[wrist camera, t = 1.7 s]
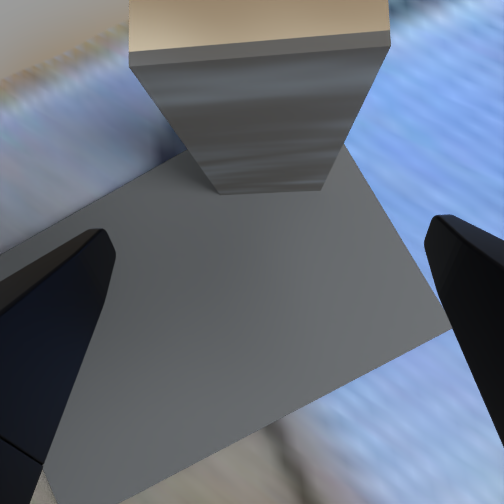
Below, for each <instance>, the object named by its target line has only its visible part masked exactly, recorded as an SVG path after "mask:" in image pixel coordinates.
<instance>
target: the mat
mask: <svg viewBox="0 0 504 504" xmlns="http://www.w3.org/2000/svg"><path fill="white" fill-rule="evenodd" d="M92 228H103V229H105V230H106V231H107V233H108V235H109V237H110V239H111V242H112V244H113V246H114V248H115V251H116V260H115V264H114V268H113V272H112V276H111V280H110V284H109V288H108V292H107V296H106V300H105V303H104V306H103V309H102V312H101V314H100V317H99V319H98V322H97V325H96V327H95V330H94V333H93V335H92V338H91V341H90V343H89V346H88V349H87V351H86V354H85V357H84V359H83V362H82V365H81V367H80V370H79V373H78V375H77V378H76V381H75V383H74V386H73V389H72V391H71V394H70V397H69V399H68V402H67V405H66V407H65V410H64V413H63V415H62V418H61V421H60V423H59V426H58V429H57V431H56V434H55V437H54V439H53V442H52V444H51V447H50V450H49V452H48V455H47V458H46V460H45V463H44V464H43V470H44V473H45V475H46V477H47V480H48V482H49V484H50V487H51V489H52V491H53V494H54V496H55V498H56V501H57V503H58V504H118V503H120V502H122V501H124V500H126V499H128V498H130V497H132V496H134V495H136V494H137V493H139V492H141V491H143V490H145V489H147V488H149V487H151V486H153V485H155V484H157V483H158V482H160V481H162V480H164V479H166V478H168V477H170V476H172V475H174V474H176V473H177V472H179V471H181V470H183V469H185V468H187V467H189V466H191V465H193V464H195V463H197V462H198V461H200V460H202V459H204V458H206V457H208V456H210V455H212V454H214V453H216V452H218V451H219V450H221V449H223V448H225V447H227V446H229V445H231V444H233V443H235V442H237V441H238V440H240V439H242V438H244V437H246V436H248V435H250V434H252V433H254V432H256V431H258V430H259V429H261V428H263V427H265V426H267V425H269V424H271V423H273V422H275V421H277V420H279V419H280V418H282V417H284V416H286V415H288V414H290V413H292V412H294V411H296V410H298V409H299V408H301V407H303V406H305V405H307V404H309V403H311V402H313V401H315V400H317V399H319V398H320V397H322V396H324V395H326V394H328V393H330V392H332V391H334V390H336V389H338V388H340V387H341V386H343V385H345V384H347V383H349V382H351V381H353V380H355V379H357V378H359V377H360V376H362V375H364V374H366V373H368V372H370V371H372V370H374V369H376V368H378V367H380V366H381V365H383V364H385V363H387V362H389V361H391V360H393V359H395V358H397V357H399V356H401V355H402V354H404V353H406V352H408V351H410V350H412V349H414V348H416V347H418V346H420V345H421V344H423V343H425V342H427V341H429V340H431V339H433V338H435V337H437V336H439V335H441V334H442V333H444V332H446V331H448V330H450V329H452V326H451V324H450V322H449V319H448V317H447V315H446V312H445V311H444V309H443V307H442V306H441V304H440V302H439V301H438V299H437V297H436V296H435V294H434V292H433V291H432V289H431V288H430V286H429V284H428V283H427V281H426V279H425V278H424V276H423V274H422V273H421V271H420V269H419V268H418V266H417V264H416V263H415V261H414V259H413V258H412V256H411V254H410V253H409V251H408V249H407V248H406V246H405V244H404V243H403V241H402V239H401V238H400V236H399V234H398V233H397V231H396V229H395V228H394V226H393V224H392V223H391V221H390V219H389V218H388V216H387V214H386V213H385V211H384V209H383V208H382V206H381V204H380V203H379V201H378V199H377V198H376V196H375V195H374V193H373V191H372V190H371V188H370V186H369V185H368V183H367V181H366V180H365V178H364V176H363V175H362V173H361V171H360V170H359V168H358V166H357V165H356V163H355V161H354V160H353V158H352V156H351V155H350V153H349V151H348V150H347V148H346V146H345V145H344V144H343V146H342V148H341V150H340V152H339V154H338V156H337V158H336V160H335V162H334V164H333V166H332V168H331V170H330V172H329V174H328V177H327V179H326V181H325V183H324V185H323V187H322V189H321V191H301V192H279V193H257V194H235V195H220V194H219V193H218V191H217V190H216V188H215V187H214V186H213V184H212V183H211V181H210V180H209V179H208V177H207V176H206V174H205V173H204V172H203V170H202V169H201V167H200V166H199V165H198V163H197V162H196V160H195V159H194V158H193V156H192V155H191V153H190V152H189V151H188V149H187V150H185V151H184V152H182V153H180V154H178V155H176V156H175V157H173V158H171V159H169V160H168V161H166V162H164V163H162V164H161V165H159V166H157V167H155V168H153V169H152V170H150V171H148V172H146V173H145V174H143V175H141V176H139V177H137V178H136V179H134V180H132V181H130V182H129V183H127V184H125V185H123V186H122V187H120V188H118V189H116V190H114V191H113V192H111V193H109V194H107V195H106V196H104V197H102V198H100V199H99V200H97V201H95V202H93V203H91V204H90V205H88V206H86V207H84V208H83V209H81V210H79V211H77V212H75V213H74V214H72V215H70V216H68V217H67V218H65V219H63V220H61V221H60V222H58V223H56V224H54V225H52V226H51V227H49V228H47V229H45V230H44V231H42V232H40V233H38V234H37V235H35V236H33V237H31V238H29V239H28V240H26V241H24V242H22V243H21V244H19V245H17V246H15V247H14V248H12V249H10V250H8V251H6V252H5V253H3V254H1V255H0V281H1V280H3V279H5V278H6V277H8V276H10V275H12V274H13V273H15V272H17V271H18V270H20V269H22V268H23V267H25V266H27V265H28V264H30V263H32V262H33V261H35V260H37V259H39V258H40V257H42V256H44V255H45V254H47V253H49V252H50V251H52V250H54V249H55V248H57V247H59V246H61V245H62V244H64V243H66V242H67V241H69V240H71V239H72V238H74V237H76V236H77V235H79V234H81V233H83V232H84V231H86V230H88V229H92Z"/></svg>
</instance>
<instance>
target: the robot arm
mask: <svg viewBox="0 0 504 504" xmlns="http://www.w3.org/2000/svg"><path fill="white" fill-rule="evenodd" d="M424 248H425V252H426V255H427V259H428V262H429V265H430V269H431V272H432V276H433V279H434V283H435V286H436V290H437V293H438V296H439V298H440V301H441V303H442V306H443V308H444V310H445V312H446V315H447V317H448V319H449V322H450V324H451V326H452V329H453V331H454V333H455V336H456V338H457V340H458V343H459V345H460V347H461V349H462V352H463V354H464V356H465V359H466V361H467V363H468V366H469V368H470V370H471V373H472V375H473V377H474V380H475V382H476V384H477V387H478V389H479V391H480V393H481V396H482V398H483V400H484V403H485V405H486V407H487V410H488V412H489V414H490V417H491V419H492V421H493V424H494V426H495V428H496V430H497V433H498V435H499V437H500V440H501V442H502V444H503V447H504V240H502V239H500V238H498V237H496V236H494V235H492V234H490V233H488V232H486V231H484V230H482V229H480V228H478V227H476V226H474V225H472V224H470V223H468V222H466V221H464V220H462V219H460V218H458V217H456V216H454V215H450V214H448V215H436V216H434V217H433V218H432V220H431V223H430V226H429V229H428V231H427V234H426V237H425V241H424ZM115 260H116V251H115V248H114V246H113V244H112V242H111V239H110V237H109V235H108V233H107V231H106V230H105V229H103V228H92V229H88V230H86V231H84V232H83V233H81V234H79V235H77V236H76V237H74V238H72V239H71V240H69V241H67V242H66V243H64V244H62V245H61V246H59V247H57V248H55V249H54V250H52V251H50V252H49V253H47V254H45V255H44V256H42V257H40V258H39V259H37V260H35V261H33V262H32V263H30V264H28V265H27V266H25V267H23V268H22V269H20V270H18V271H17V272H15V273H13V274H12V275H10V276H8V277H6V278H5V279H3V280H1V281H0V504H30V501H31V498H32V496H33V493H34V490H35V488H36V485H37V482H38V480H39V477H40V474H41V472H42V469H43V464H44V463H45V460H46V458H47V455H48V452H49V450H50V447H51V444H52V442H53V439H54V437H55V434H56V431H57V429H58V426H59V423H60V421H61V418H62V415H63V413H64V410H65V407H66V405H67V402H68V399H69V397H70V394H71V391H72V389H73V386H74V383H75V381H76V378H77V375H78V373H79V370H80V367H81V365H82V362H83V359H84V357H85V354H86V351H87V349H88V346H89V343H90V341H91V338H92V335H93V333H94V330H95V327H96V325H97V322H98V319H99V317H100V314H101V312H102V309H103V306H104V303H105V300H106V296H107V292H108V288H109V284H110V280H111V276H112V272H113V268H114V264H115Z"/></svg>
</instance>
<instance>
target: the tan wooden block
mask: <svg viewBox="0 0 504 504" xmlns="http://www.w3.org/2000/svg"><path fill="white" fill-rule="evenodd" d="M390 47H391V40H390V24H389V8H388V0H129V68H130V69H131V71H132V72H133V73H134V75H135V76H136V78H137V79H138V80H139V82H140V83H141V85H142V86H143V87H144V89H145V90H146V92H147V93H148V94H149V96H150V97H151V99H152V100H153V101H154V103H155V104H156V106H157V107H158V108H159V110H160V111H161V113H162V114H163V115H164V117H165V118H166V120H167V121H168V122H169V124H170V125H171V127H172V128H173V129H174V131H175V132H176V134H177V135H178V136H179V138H180V139H181V141H182V142H183V143H184V145H185V146H186V148H187V149H188V151H189V152H190V153H191V155H192V156H193V158H194V159H195V160H196V162H197V163H198V165H199V166H200V167H201V169H202V170H203V172H204V173H205V174H206V176H207V177H208V179H209V180H210V181H211V183H212V184H213V186H214V187H215V188H216V190H217V191H218V193H219V194H220V195H235V194H257V193H279V192H301V191H321V189H322V187H323V185H324V183H325V181H326V179H327V177H328V174H329V172H330V170H331V168H332V166H333V164H334V162H335V160H336V158H337V156H338V154H339V152H340V150H341V148H342V146H343V144H344V141H345V139H346V137H347V135H348V133H349V131H350V129H351V127H352V125H353V123H354V121H355V119H356V117H357V115H358V113H359V111H360V108H361V106H362V104H363V102H364V100H365V98H366V96H367V94H368V92H369V90H370V88H371V86H372V84H373V82H374V80H375V77H376V75H377V73H378V71H379V69H380V67H381V65H382V63H383V61H384V59H385V57H386V55H387V53H388V51H389V49H390Z"/></svg>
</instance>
